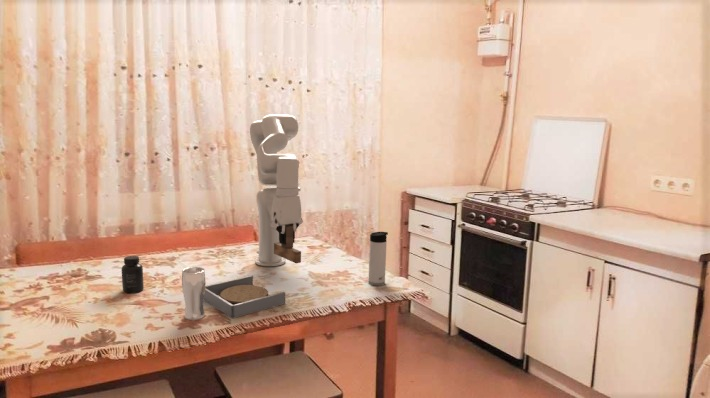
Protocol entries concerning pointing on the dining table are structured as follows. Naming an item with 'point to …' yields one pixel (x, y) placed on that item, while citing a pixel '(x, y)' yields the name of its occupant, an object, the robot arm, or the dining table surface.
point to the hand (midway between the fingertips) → (286, 242)
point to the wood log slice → (243, 293)
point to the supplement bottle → (132, 275)
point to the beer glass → (193, 292)
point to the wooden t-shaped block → (288, 247)
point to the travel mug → (377, 258)
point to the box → (243, 307)
